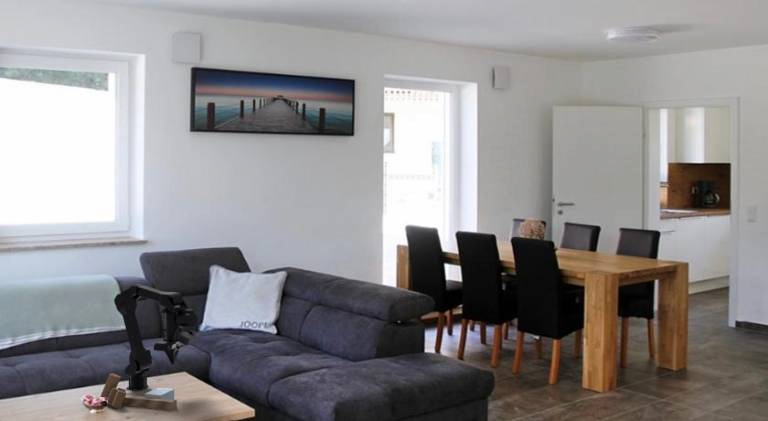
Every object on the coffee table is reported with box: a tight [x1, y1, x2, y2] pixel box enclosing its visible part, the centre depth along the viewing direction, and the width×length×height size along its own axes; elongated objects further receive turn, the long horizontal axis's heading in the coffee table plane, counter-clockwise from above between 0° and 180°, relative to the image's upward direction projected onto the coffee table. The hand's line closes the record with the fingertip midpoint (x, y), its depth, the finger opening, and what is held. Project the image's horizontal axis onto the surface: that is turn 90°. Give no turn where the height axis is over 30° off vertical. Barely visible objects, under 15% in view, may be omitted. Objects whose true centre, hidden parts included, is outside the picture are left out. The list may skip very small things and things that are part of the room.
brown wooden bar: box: [121, 394, 178, 411], centre depth 297 cm, size 22×3×3 cm, turn 73°
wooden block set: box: [99, 373, 127, 410], centre depth 302 cm, size 18×9×10 cm, turn 21°
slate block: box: [144, 387, 175, 400], centre depth 303 cm, size 7×9×4 cm
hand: (173, 364), depth 314 cm, fingers closed
